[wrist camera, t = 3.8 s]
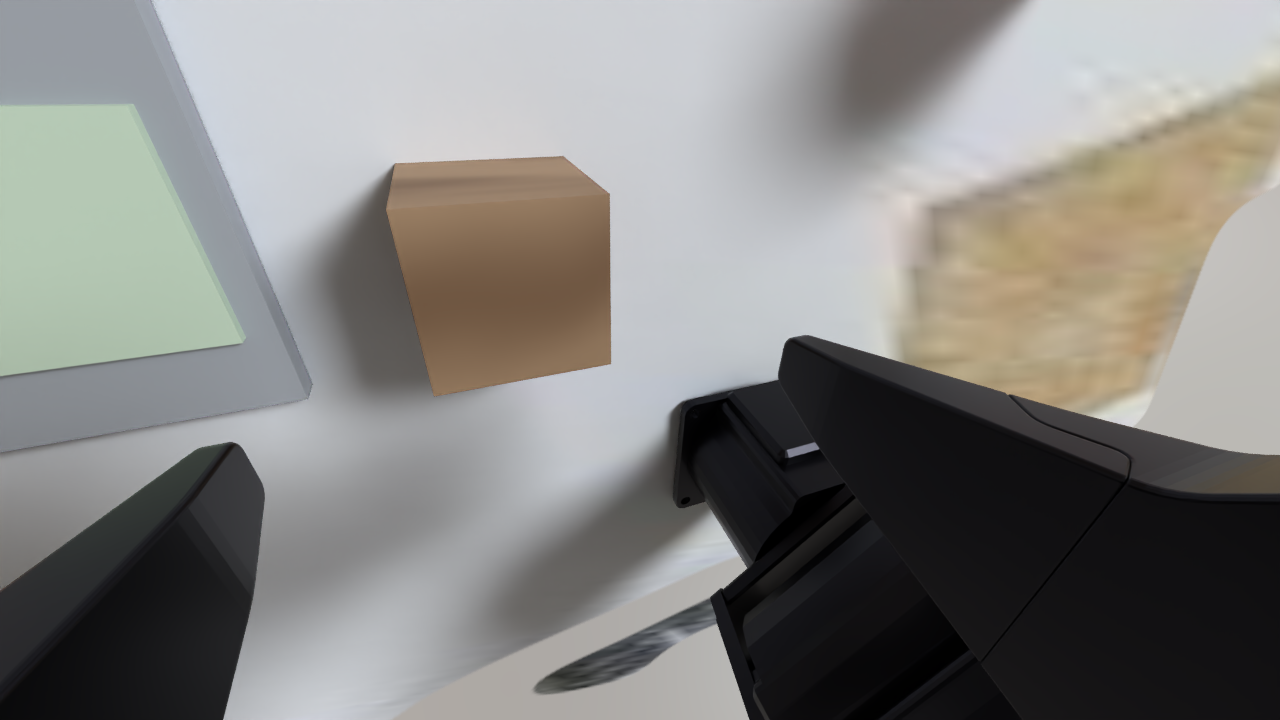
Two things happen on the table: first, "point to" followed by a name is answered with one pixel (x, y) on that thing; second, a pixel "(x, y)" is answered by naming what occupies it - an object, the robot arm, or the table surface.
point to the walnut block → (503, 268)
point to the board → (120, 238)
